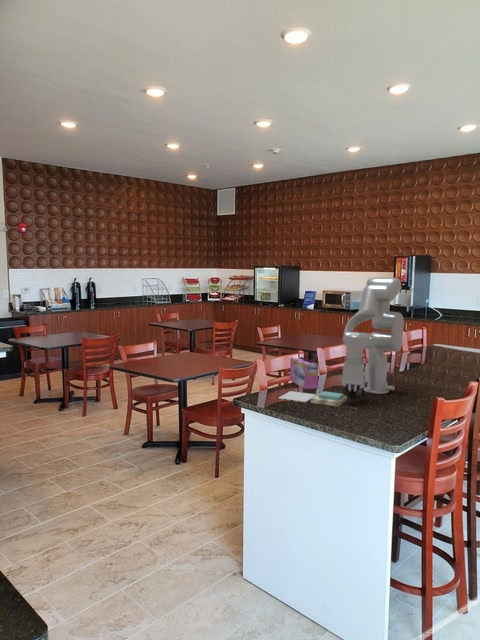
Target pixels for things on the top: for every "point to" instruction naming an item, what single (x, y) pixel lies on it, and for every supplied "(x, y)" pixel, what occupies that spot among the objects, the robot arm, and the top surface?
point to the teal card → (331, 395)
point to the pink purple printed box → (304, 373)
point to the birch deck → (327, 400)
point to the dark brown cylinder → (346, 390)
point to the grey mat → (297, 396)
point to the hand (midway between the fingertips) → (352, 398)
